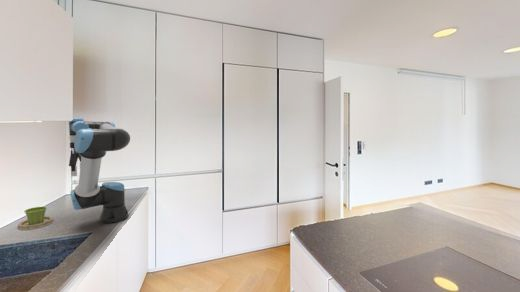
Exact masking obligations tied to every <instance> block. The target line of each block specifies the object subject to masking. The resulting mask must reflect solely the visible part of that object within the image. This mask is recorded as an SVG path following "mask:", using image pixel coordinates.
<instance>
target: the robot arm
mask: <svg viewBox="0 0 520 292" xmlns="http://www.w3.org/2000/svg"><path fill="white" fill-rule="evenodd" d="M72 118H73V120H72V121H69V120H68V131H69V136H68V139H69V148H70V149H71V150H70V155H69V162H68V167H70V175H71V176H70V177H79V178H78V184H77V185H76V186H75V187H74V189H72V190H70V198H71V203H72V206H73V209H74V210H76V211H80V210H85V209H86V210H87V209H89V208H94V207H100V206H102V210H101V212H100V216H99V222H100V223H101V224H113V223H112V222H115V223H119V222H122V221H124V220H126V219H127V218H128V217H129V212H128V209H127V207H126V204H125V203H126V200H125V196H126V194H125V191H126V190H125V184H124V183H122V182H116V181H107V182H106V181H105V182H102V184H101V186H100V185H99V178H100V170H101V165H102V158H104V157H105V156H106V154H107V152H114V151H115V152H117V151H119V150H122V149H125V148H126V147H127V146H128V145H129V144H130V141H131V136H130V134H129V132H128V131H126V130H125V129H123V128H118V127H116V124H115V123H114V122H111V121H110V122H109V121H86V120H84V119H83V118H80V117H79V118H78V117H77V118H76V117H72ZM78 160H79V176H78V171H77V170H78V168H77V166H78V165H77V162H78Z"/></svg>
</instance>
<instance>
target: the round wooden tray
mask: <svg viewBox="0 0 520 292" xmlns="http://www.w3.org/2000/svg"><path fill="white" fill-rule="evenodd" d="M53 222H54V216H50V215H45V216H44V222H43V223H40V224H36V225H29V223H28V219H24V220H22V221H20V222H18V223H17V229H18V230H21V231H30V230H34V229H35V230H36V229H41V228H44V227H47V226H49V225H51V224H53Z"/></svg>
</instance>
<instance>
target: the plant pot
mask: <svg viewBox="0 0 520 292" xmlns="http://www.w3.org/2000/svg"><path fill="white" fill-rule="evenodd" d="M47 208H48V207H47V206H36V207H31V208H27V209H25V210H24V211H23V212H24V213H25V215H26V218H27V219H28V223H29V225H36V224H40V223H43V222H44V216H46V210H47ZM27 219H26V220H27Z"/></svg>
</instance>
